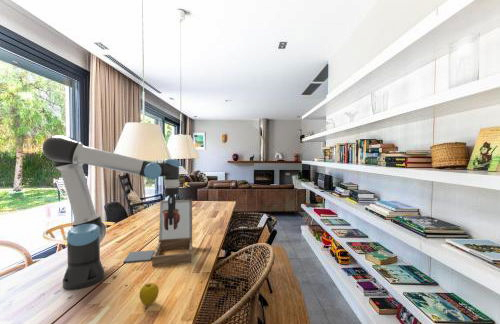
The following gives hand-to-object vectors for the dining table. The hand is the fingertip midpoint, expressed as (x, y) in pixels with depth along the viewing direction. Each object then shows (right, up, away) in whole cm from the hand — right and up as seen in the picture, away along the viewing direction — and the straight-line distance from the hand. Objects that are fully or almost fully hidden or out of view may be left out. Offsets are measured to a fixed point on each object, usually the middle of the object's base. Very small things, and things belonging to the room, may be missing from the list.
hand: (171, 228), depth 133 cm
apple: (+6, -16, -45) cm, 48 cm away
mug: (+1, -1, -1) cm, 1 cm away
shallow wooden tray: (+1, -15, 0) cm, 15 cm away
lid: (-2, +1, +15) cm, 16 cm away
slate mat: (-17, -15, -2) cm, 23 cm away
